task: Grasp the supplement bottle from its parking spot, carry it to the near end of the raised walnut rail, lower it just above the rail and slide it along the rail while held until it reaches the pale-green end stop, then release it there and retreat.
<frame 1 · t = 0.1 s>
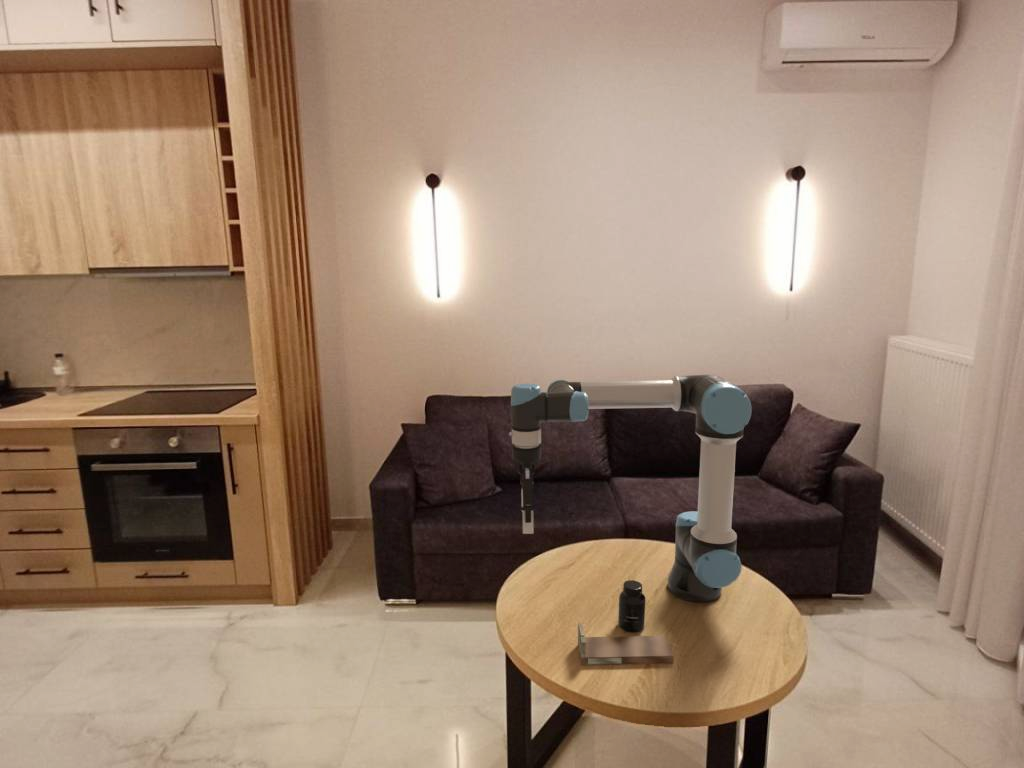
hand: (527, 521, 161), 28 cm above the table, fingers open, 13 cm apart
rail flange: (624, 653, 151), on the table
supplement bottle: (631, 626, 162), on the table
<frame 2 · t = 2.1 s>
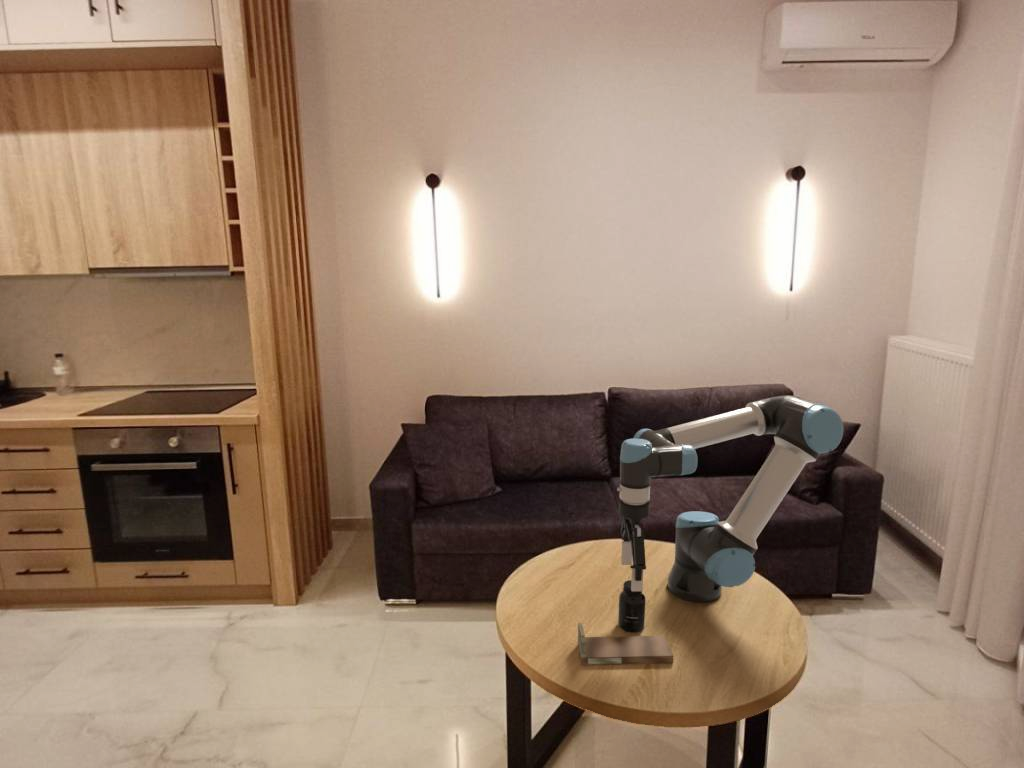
hand: (631, 576, 159), 14 cm above the table, fingers open, 13 cm apart
nothing on the table moved.
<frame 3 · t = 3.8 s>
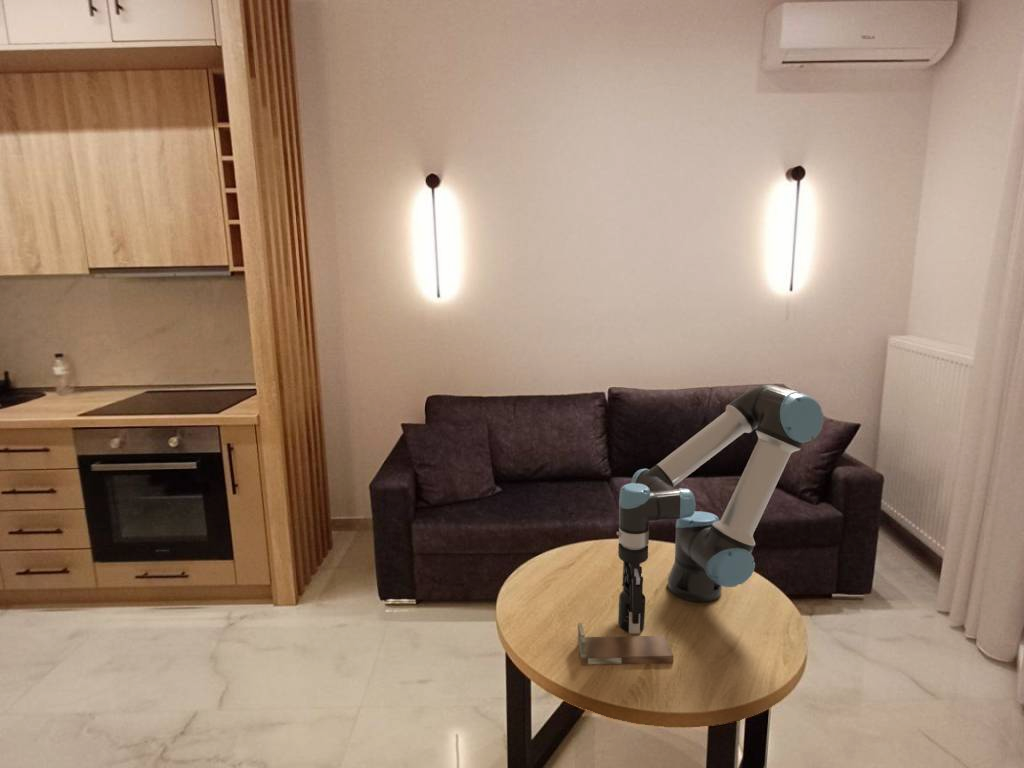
hand: (631, 624, 162), 1 cm above the table, fingers closed on supplement bottle, 7 cm apart
supplement bottle: (631, 626, 162), on the table, touching gripper
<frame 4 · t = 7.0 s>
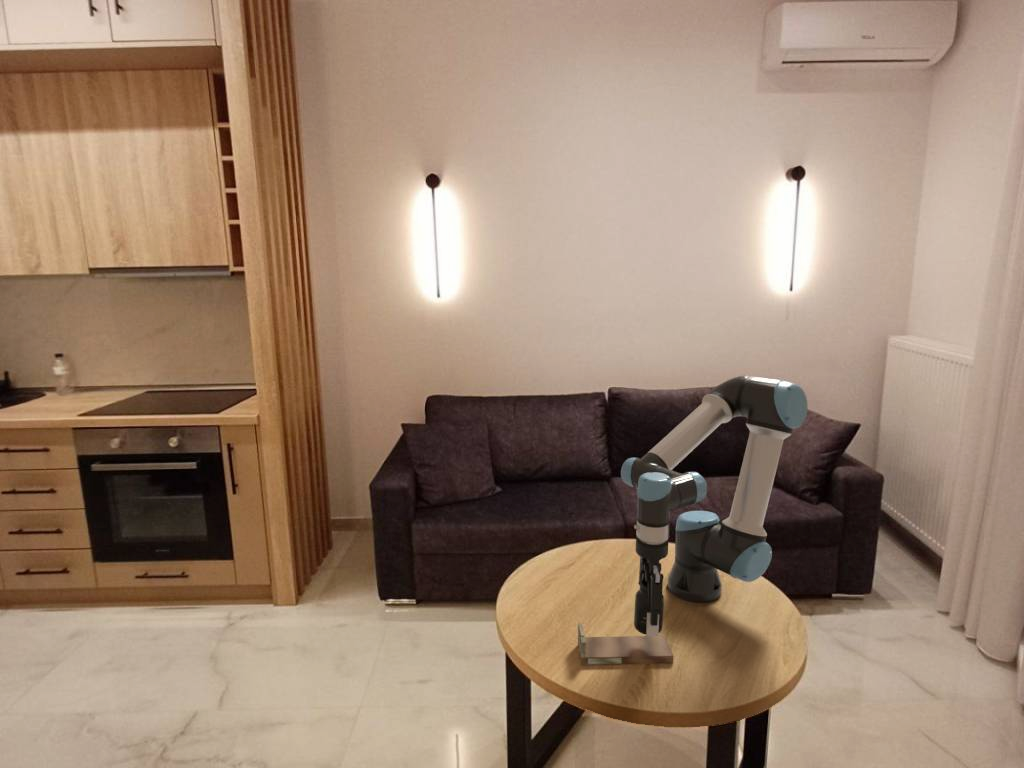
hand: (648, 625, 149), 8 cm above the table, fingers closed on supplement bottle, 7 cm apart
supplement bottle: (648, 628, 150), point 7 cm above the table, touching gripper
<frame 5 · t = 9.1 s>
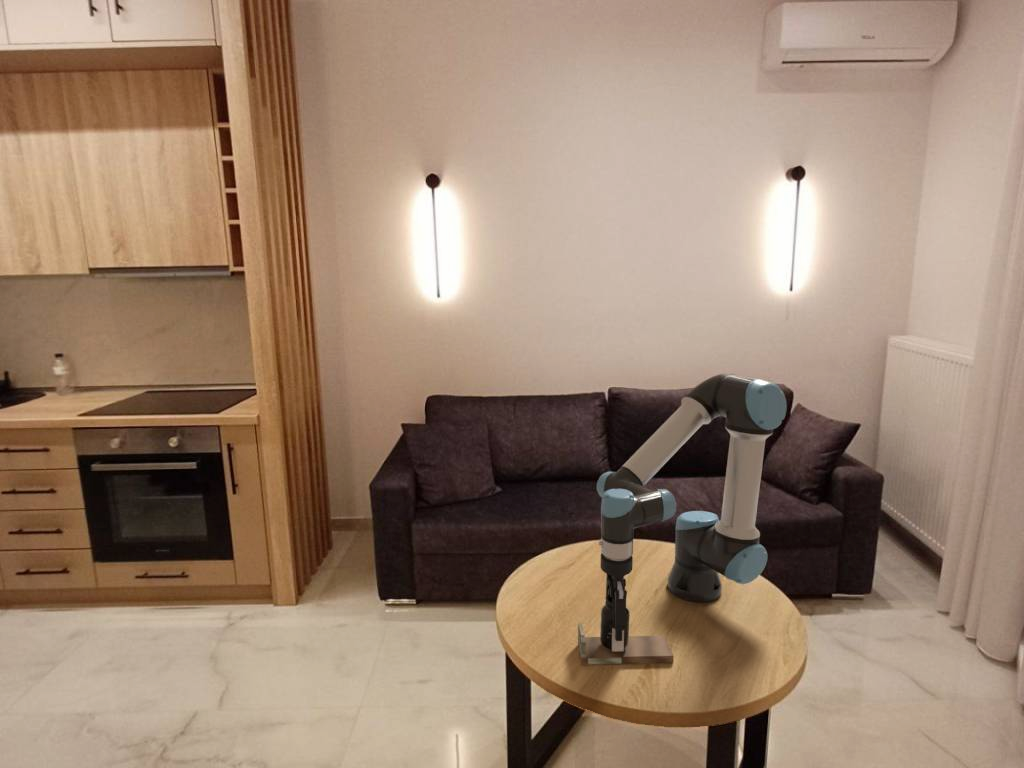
hand: (614, 640, 150), 4 cm above the table, fingers closed on supplement bottle, 7 cm apart
supplement bottle: (614, 643, 150), point 3 cm above the table, touching gripper
when the fingers open (3 cm above the table, at t = 10.5 s): supplement bottle stays where it is, resting on rail flange.
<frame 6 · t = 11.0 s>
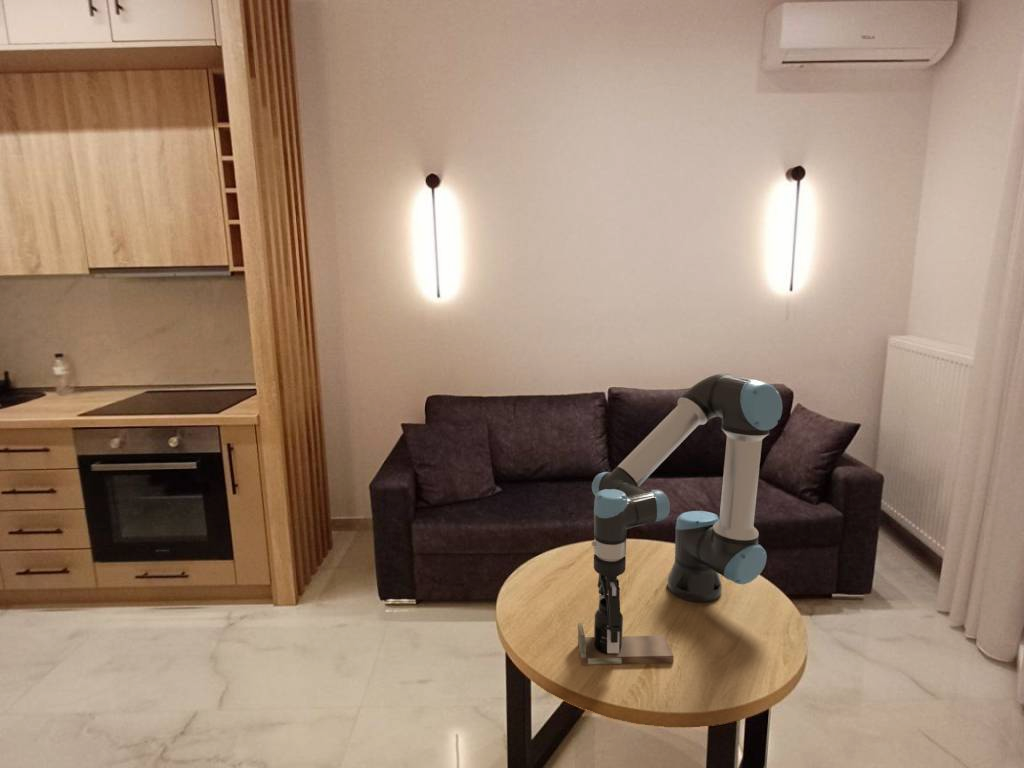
hand: (608, 635, 150), 5 cm above the table, fingers open, 13 cm apart
supplement bottle: (608, 647, 151), point 2 cm above the table, touching rail flange
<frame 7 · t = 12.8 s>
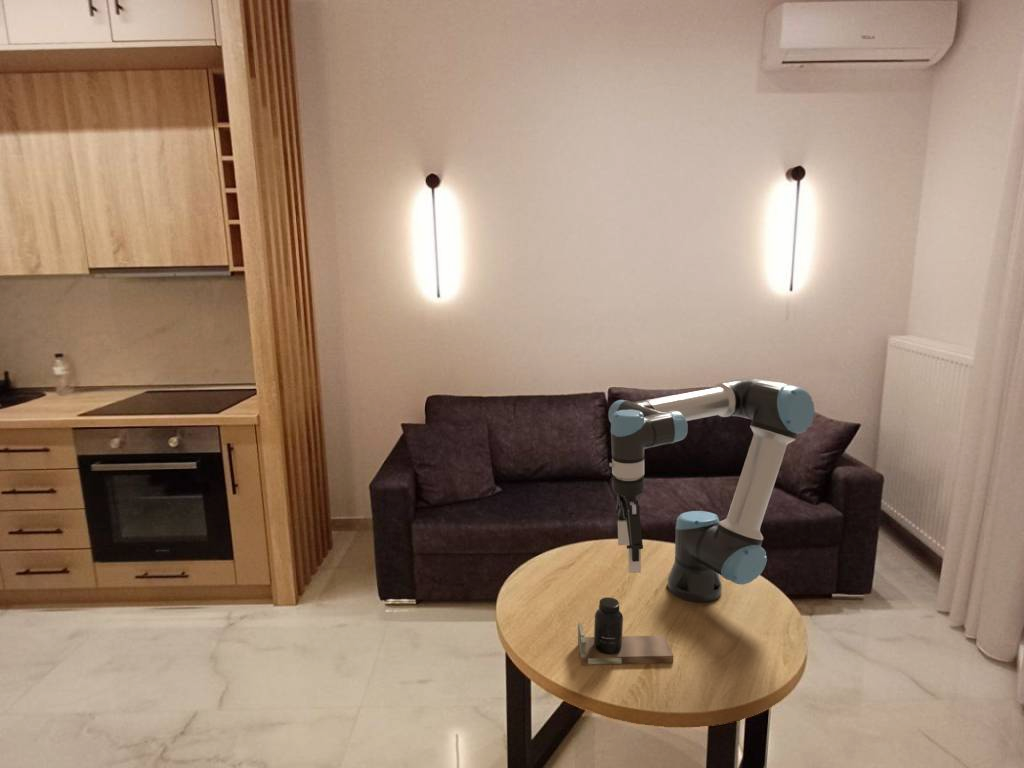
hand: (628, 557, 149), 24 cm above the table, fingers open, 13 cm apart
nothing on the table moved.
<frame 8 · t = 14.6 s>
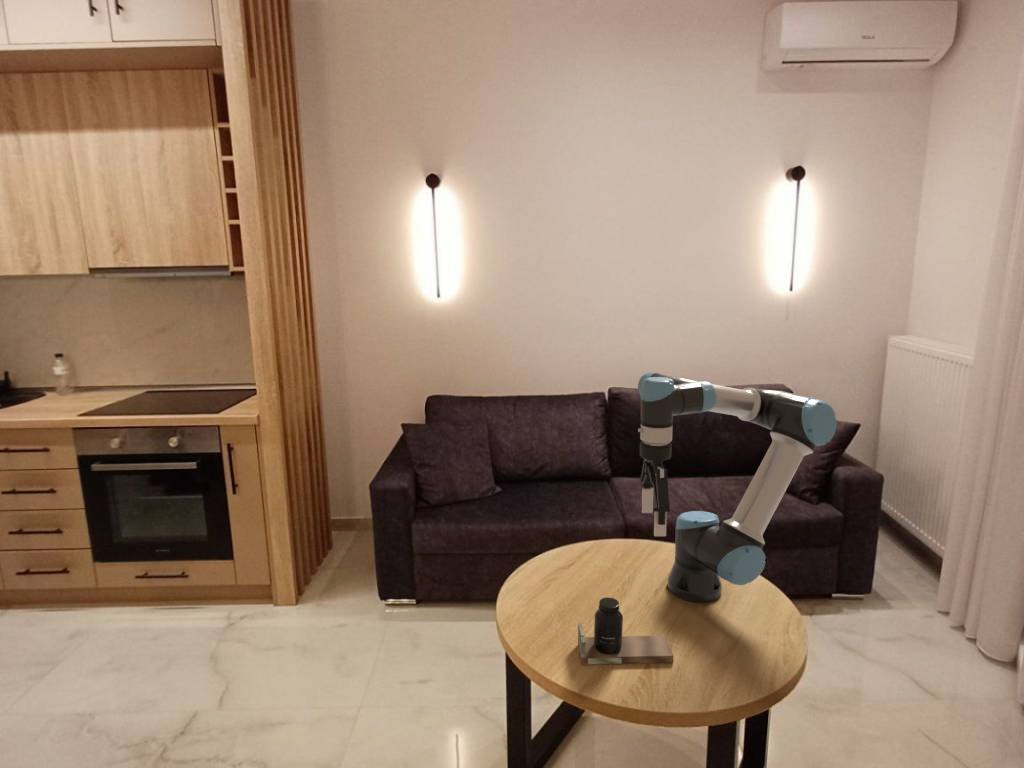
hand: (653, 523, 152), 31 cm above the table, fingers open, 13 cm apart
nothing on the table moved.
at the end: supplement bottle inside the target area on the rail flange (2.2 cm from its centre), point 1.8 cm above the rail flange's base; supplement bottle tilted 0°; the gripper is holding nothing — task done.
